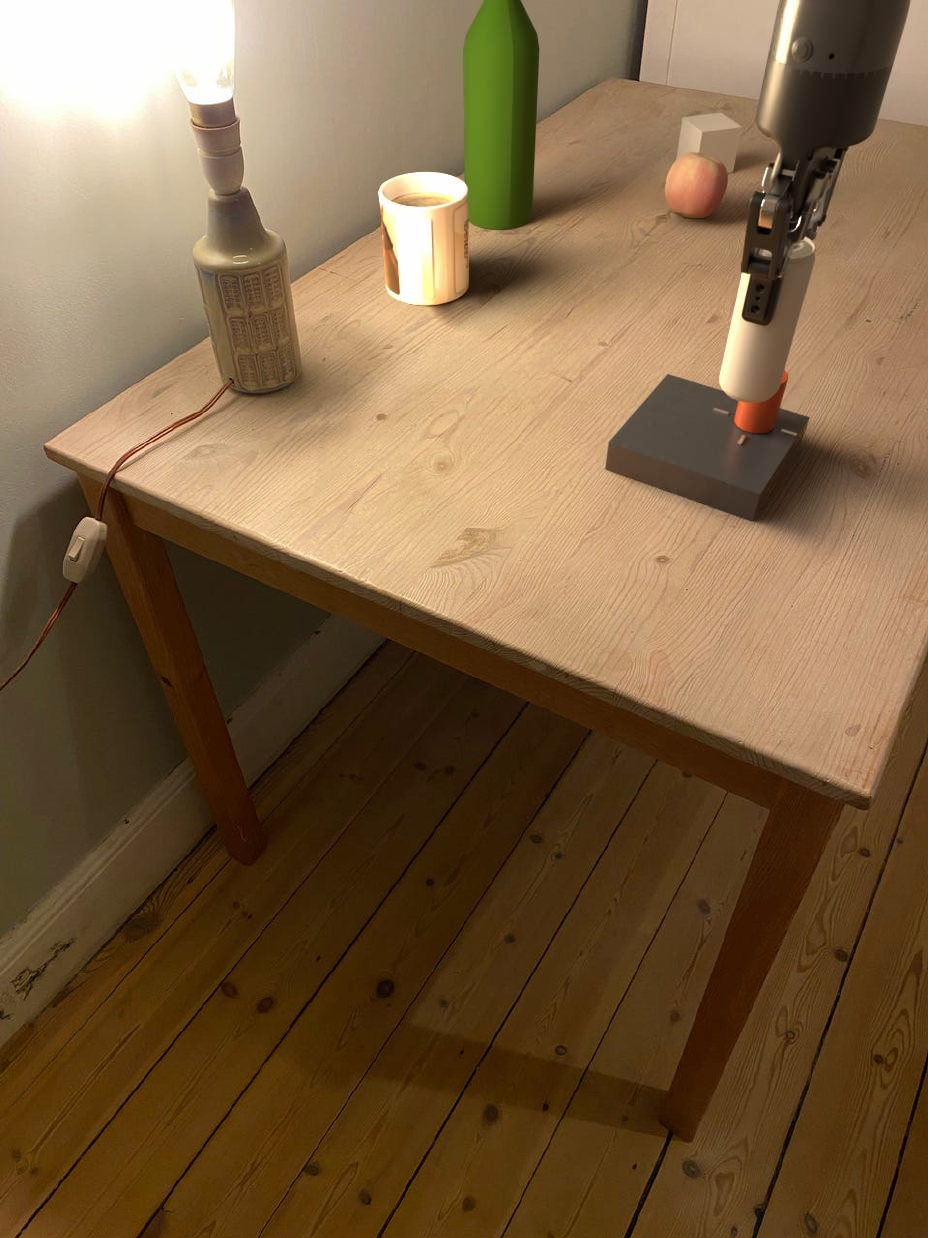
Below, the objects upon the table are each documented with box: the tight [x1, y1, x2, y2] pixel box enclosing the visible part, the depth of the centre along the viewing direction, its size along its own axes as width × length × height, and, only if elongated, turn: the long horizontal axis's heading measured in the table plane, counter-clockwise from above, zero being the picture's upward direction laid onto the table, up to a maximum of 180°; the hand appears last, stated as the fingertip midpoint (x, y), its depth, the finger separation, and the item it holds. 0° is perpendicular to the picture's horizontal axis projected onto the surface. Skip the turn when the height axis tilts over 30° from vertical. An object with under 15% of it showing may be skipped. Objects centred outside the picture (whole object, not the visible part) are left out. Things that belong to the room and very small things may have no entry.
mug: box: [378, 171, 470, 306], centre depth 103 cm, size 10×12×11 cm
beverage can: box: [718, 237, 817, 403], centre depth 70 cm, size 5×5×12 cm
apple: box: [664, 152, 729, 219], centre depth 116 cm, size 8×8×8 cm
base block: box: [604, 373, 810, 522], centre depth 83 cm, size 14×13×3 cm
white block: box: [675, 112, 743, 174], centre depth 128 cm, size 6×6×6 cm
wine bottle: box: [462, 0, 540, 231], centre depth 108 cm, size 9×9×32 cm
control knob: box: [734, 369, 789, 434], centre depth 81 cm, size 4×4×5 cm
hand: (769, 304), depth 69 cm, fingers closed on beverage can, 5 cm apart
